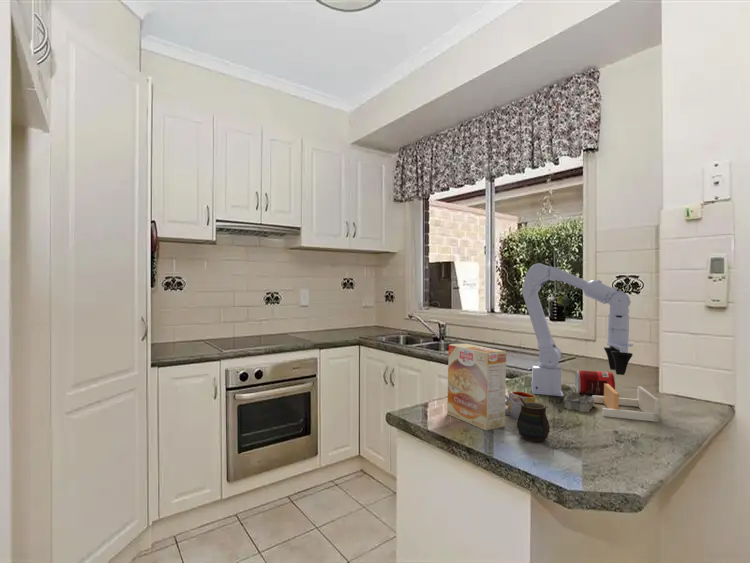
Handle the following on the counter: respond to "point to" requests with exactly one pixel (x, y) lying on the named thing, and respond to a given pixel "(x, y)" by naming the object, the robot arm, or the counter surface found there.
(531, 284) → the robot arm
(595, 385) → the canned food
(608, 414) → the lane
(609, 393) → the pusher plate
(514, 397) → the mug
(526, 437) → the mate gourd
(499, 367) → the coffeecake box
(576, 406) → the egg carton
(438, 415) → the counter surface
